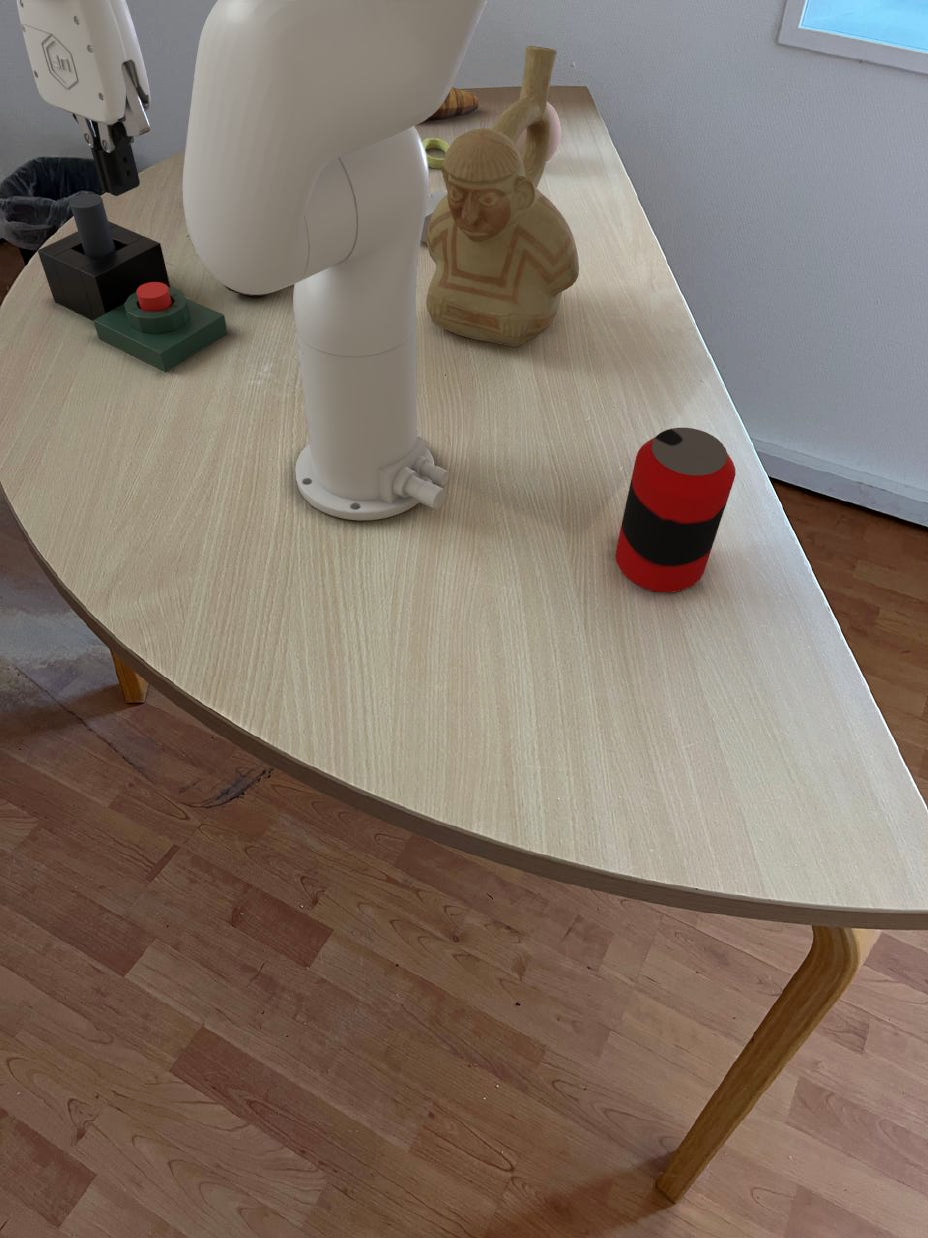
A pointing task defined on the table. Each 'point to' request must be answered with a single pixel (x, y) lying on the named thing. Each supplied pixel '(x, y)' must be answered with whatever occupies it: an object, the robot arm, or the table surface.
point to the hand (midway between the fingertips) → (121, 188)
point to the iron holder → (101, 271)
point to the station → (161, 330)
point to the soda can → (674, 509)
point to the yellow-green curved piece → (435, 144)
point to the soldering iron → (92, 225)
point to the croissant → (456, 104)
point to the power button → (154, 297)
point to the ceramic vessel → (501, 225)
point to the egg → (554, 134)
